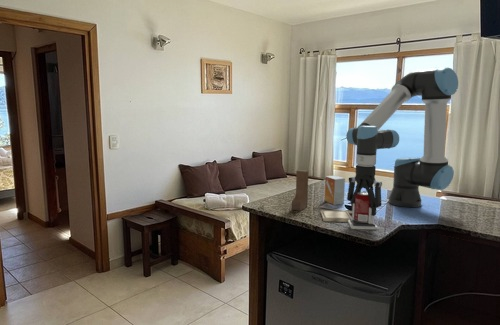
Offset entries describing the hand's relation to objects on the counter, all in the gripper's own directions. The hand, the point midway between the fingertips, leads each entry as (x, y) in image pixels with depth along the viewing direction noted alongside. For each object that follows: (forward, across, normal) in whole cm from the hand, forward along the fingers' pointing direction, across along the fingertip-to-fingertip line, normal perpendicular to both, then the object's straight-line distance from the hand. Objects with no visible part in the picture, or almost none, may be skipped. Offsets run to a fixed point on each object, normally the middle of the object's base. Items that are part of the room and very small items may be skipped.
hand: (362, 220), depth 145 cm
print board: (+2, -14, +1) cm, 14 cm away
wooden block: (+2, -33, -1) cm, 33 cm away
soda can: (+1, 0, 0) cm, 1 cm away
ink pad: (+2, 0, 0) cm, 2 cm away
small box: (+3, -29, +20) cm, 36 cm away
